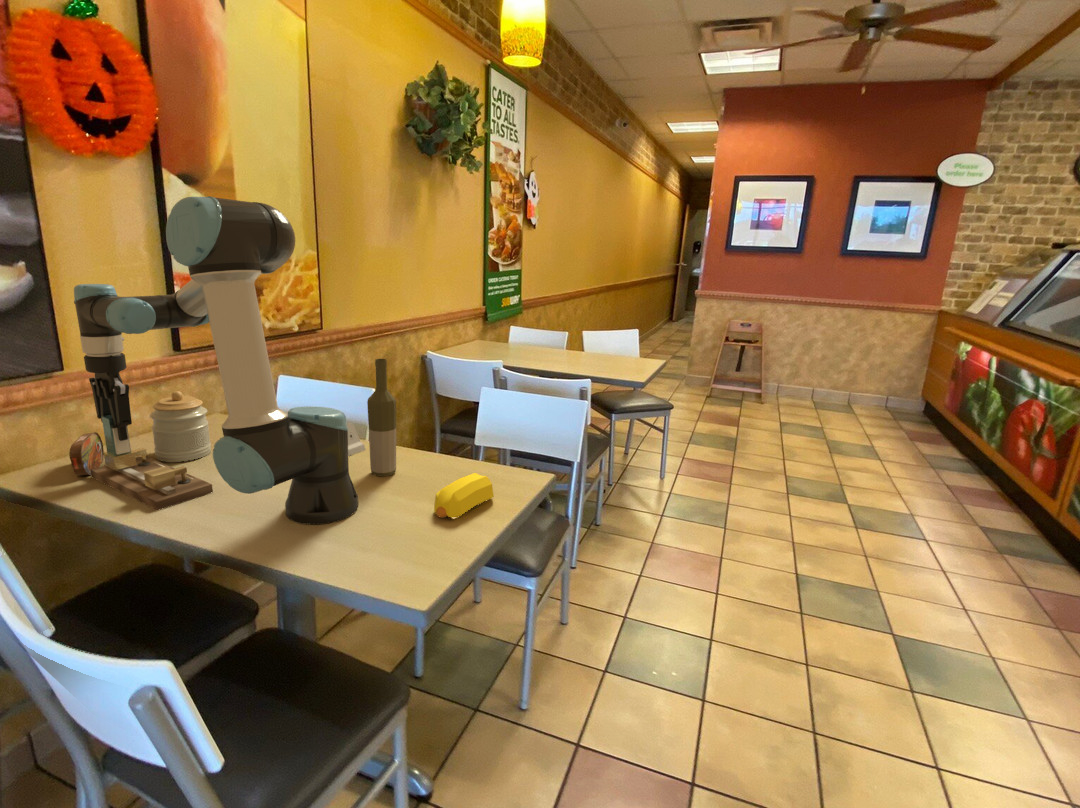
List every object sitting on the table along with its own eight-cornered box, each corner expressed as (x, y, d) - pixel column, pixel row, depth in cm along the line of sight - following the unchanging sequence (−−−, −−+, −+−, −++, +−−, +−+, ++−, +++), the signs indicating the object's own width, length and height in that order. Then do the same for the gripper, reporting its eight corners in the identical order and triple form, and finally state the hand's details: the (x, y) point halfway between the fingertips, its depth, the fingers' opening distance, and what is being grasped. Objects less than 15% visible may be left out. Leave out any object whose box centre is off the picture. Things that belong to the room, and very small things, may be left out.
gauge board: (212, 492, 133) (210, 467, 132) (157, 510, 123) (153, 483, 122) (145, 463, 148) (142, 440, 147) (91, 477, 138) (87, 452, 137)
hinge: (321, 467, 151) (309, 430, 150) (309, 469, 154) (298, 433, 153) (366, 449, 166) (356, 416, 165) (355, 451, 168) (345, 418, 167)
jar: (172, 467, 147) (164, 400, 142) (145, 456, 153) (136, 391, 148) (221, 453, 158) (215, 390, 153) (194, 443, 164) (187, 383, 159)
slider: (151, 464, 141) (144, 413, 138) (116, 473, 135) (108, 420, 131) (141, 459, 144) (134, 409, 140) (106, 468, 137) (97, 416, 134)
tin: (87, 480, 137) (81, 446, 134) (71, 481, 135) (65, 447, 133) (106, 458, 150) (101, 427, 148) (91, 459, 149) (86, 428, 147)
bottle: (363, 475, 147) (360, 360, 139) (379, 466, 154) (376, 356, 146) (387, 480, 145) (385, 363, 137) (402, 470, 151) (401, 358, 144)
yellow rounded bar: (425, 516, 127) (452, 526, 123) (425, 488, 125) (452, 497, 122) (475, 490, 142) (500, 498, 138) (475, 465, 140) (501, 472, 137)
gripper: (141, 356, 130) (154, 453, 136) (105, 346, 138) (119, 439, 144) (102, 360, 123) (118, 463, 129) (67, 350, 131) (84, 447, 138)
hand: (118, 450), depth 137 cm, fingers closed on slider, 3 cm apart
